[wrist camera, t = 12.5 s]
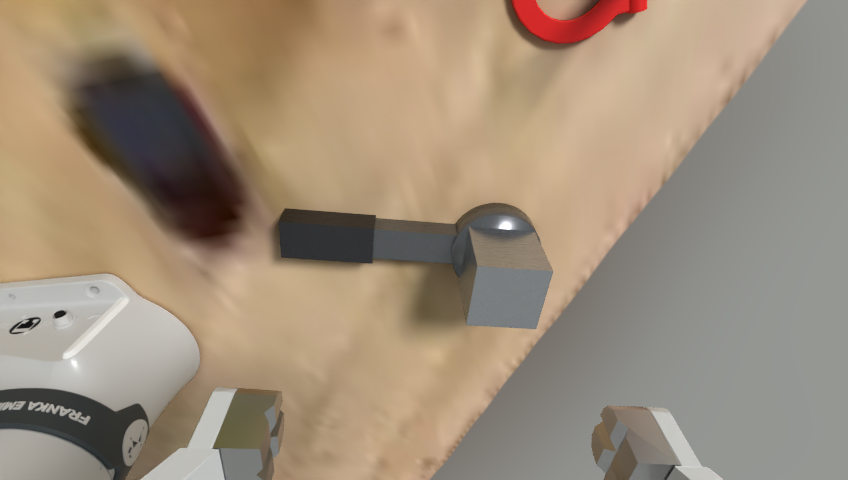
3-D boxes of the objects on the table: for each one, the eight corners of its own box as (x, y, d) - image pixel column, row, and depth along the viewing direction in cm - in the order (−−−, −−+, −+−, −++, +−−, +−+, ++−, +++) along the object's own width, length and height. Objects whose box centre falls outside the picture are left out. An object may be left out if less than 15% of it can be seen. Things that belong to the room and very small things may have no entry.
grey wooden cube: (459, 281, 42) (466, 325, 37) (468, 226, 39) (477, 266, 34) (520, 285, 43) (536, 329, 38) (534, 231, 40) (553, 271, 35)
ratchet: (288, 262, 44) (272, 302, 39) (284, 186, 40) (265, 219, 35) (524, 278, 46) (539, 318, 40) (543, 206, 42) (562, 241, 36)
